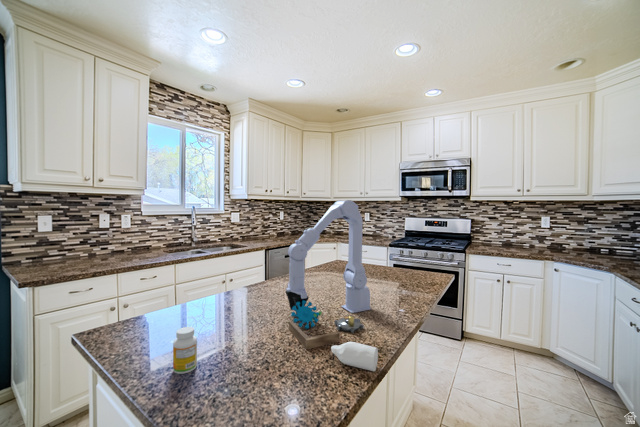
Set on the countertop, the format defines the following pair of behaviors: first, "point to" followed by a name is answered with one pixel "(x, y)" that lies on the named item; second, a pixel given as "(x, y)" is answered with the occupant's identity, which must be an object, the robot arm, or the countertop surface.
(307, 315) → the gear
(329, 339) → the tray
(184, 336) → the supplement bottle
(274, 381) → the countertop surface
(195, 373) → the countertop surface
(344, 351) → the white plastic bottle
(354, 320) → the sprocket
